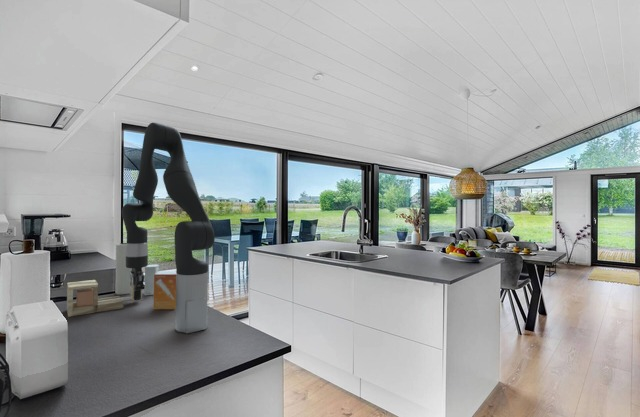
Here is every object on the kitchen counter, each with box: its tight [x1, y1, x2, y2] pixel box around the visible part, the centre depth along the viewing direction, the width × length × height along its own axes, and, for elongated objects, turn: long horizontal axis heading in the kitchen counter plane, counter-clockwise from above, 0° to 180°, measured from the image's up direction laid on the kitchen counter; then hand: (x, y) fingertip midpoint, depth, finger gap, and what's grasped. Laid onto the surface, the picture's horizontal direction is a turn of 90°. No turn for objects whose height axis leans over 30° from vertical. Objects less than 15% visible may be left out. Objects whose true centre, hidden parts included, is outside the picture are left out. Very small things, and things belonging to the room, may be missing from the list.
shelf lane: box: [66, 279, 124, 318], centre depth 117 cm, size 9×16×10 cm, turn 130°
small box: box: [152, 270, 176, 310], centre depth 121 cm, size 8×6×13 cm
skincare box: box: [143, 264, 160, 296], centre depth 139 cm, size 6×4×12 cm
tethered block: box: [75, 284, 143, 307], centre depth 120 cm, size 5×20×6 cm, turn 131°
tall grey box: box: [114, 242, 132, 295], centre depth 138 cm, size 7×6×21 cm
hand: (136, 298), depth 125 cm, fingers closed on tethered block, 3 cm apart
